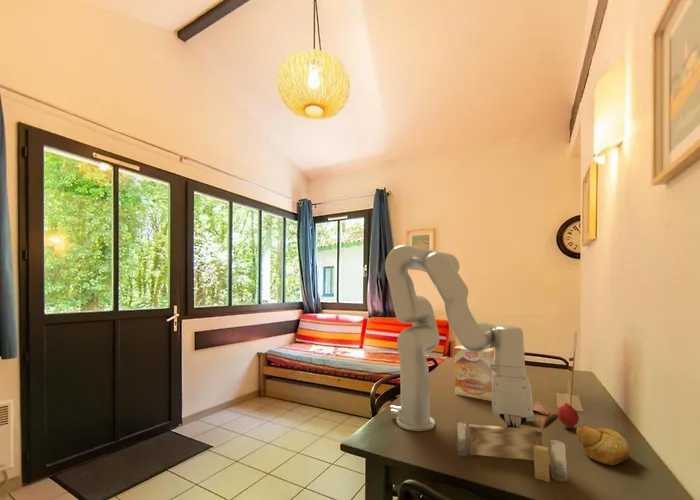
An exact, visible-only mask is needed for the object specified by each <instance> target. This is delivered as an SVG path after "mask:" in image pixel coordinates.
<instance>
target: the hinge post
mask: <svg viewBox="0 0 700 500" xmlns="http://www.w3.org/2000/svg"><path fill="white" fill-rule="evenodd" d="M456 425H457V426H456V427H457V428H456V432H457V433H456V434H457V455H458V456H460V457H464V458H465V457H467V456H468V444H467V443H468V441H467V435H468V434H467V433H468V432H467V423H466V422H463V421H458V422H456Z"/></svg>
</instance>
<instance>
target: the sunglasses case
mask: <svg viewBox="0 0 700 500" xmlns="http://www.w3.org/2000/svg"><path fill="white" fill-rule="evenodd" d="M533 413H534V416H535V420H534V421H526V422H524V423H523V424H522V425H526V426H530V427H533V426H534V427H535V428H537V427H539V428H538V429H542V430H544V429H545V427H546V426H547V425H548V424H549V423H550V422H552V421H553V420H554V419H555V418H557V417H558V415H557V414H558V412H556V411H554V410H553V409H550V408H549V407H547V406H545V405H544V404H542V403H540V402H539V401H538V400H536V401H535V402H533ZM556 416H557V417H556ZM554 417H555V418H554ZM553 418H554V419H553ZM552 419H553V420H552ZM534 427H533V428H534ZM543 428H544V429H543Z"/></svg>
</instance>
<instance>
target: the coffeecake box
mask: <svg viewBox="0 0 700 500" xmlns="http://www.w3.org/2000/svg"><path fill="white" fill-rule="evenodd" d="M453 358H454V359H453V361H454V363H453V364H454V367H453V368H454V394H455V395H457V396H462V397H468V398H473V399H479V400H483V401H491V402H492V379H493V374H495V373H496V371H495V370H491V369H490V365H493V364H495V348H489V349H485V350H483V351H480V352H472V351H469V350H467V349H466V348H465V347H464V346H463V345H457V346H454V348H453Z"/></svg>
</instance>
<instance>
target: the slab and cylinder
mask: <svg viewBox="0 0 700 500" xmlns="http://www.w3.org/2000/svg"><path fill="white" fill-rule="evenodd" d="M566 454H567V453H566V444H565V443H564V442H563V441H560V440H557V439H551V440H549V447H548V446H543V445H542V446H538V445H534V460H533V461H534V464H533V465H534V479H537V480H541V481H544V482H548V483H550V481H551V478H552V479H553V480H555V481H557V482H560V483H566V482H568V472H567V471H568V469H567V468H568V467H567V456H566ZM549 457H550V458H549ZM549 460H550V461H549ZM550 472H551V473H550ZM550 474H551V475H550ZM550 476H551V478H550Z"/></svg>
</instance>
